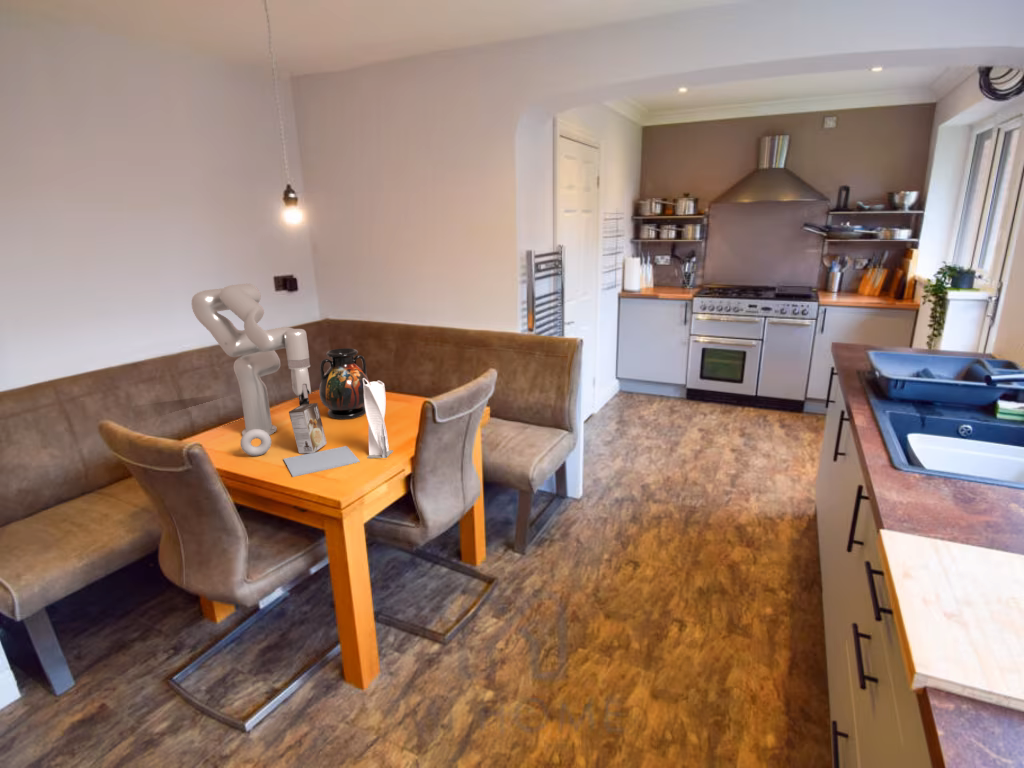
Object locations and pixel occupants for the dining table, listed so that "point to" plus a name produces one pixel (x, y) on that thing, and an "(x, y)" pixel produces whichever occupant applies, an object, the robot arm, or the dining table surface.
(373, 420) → the skyscraper
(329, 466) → the mat
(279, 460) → the dining table surface
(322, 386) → the amphora vase
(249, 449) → the donut
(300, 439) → the coffee box
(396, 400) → the dining table surface
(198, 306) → the robot arm
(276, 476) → the dining table surface
